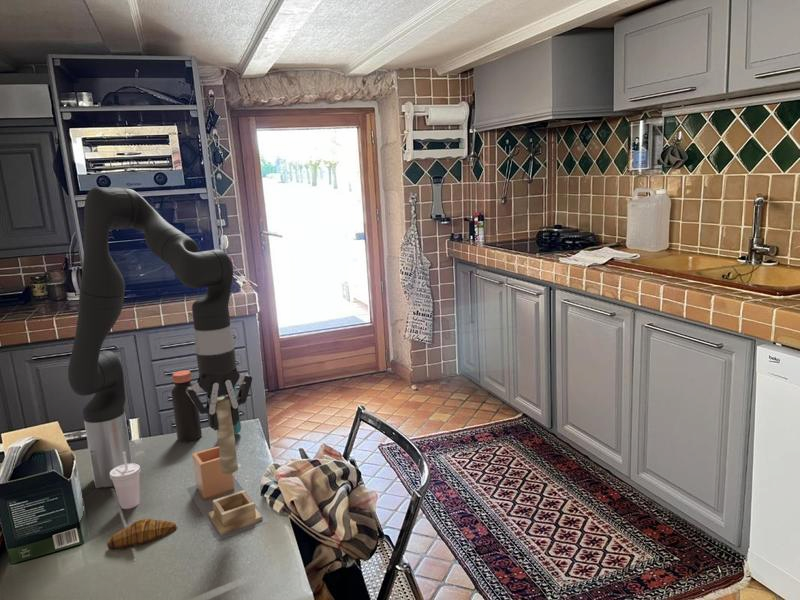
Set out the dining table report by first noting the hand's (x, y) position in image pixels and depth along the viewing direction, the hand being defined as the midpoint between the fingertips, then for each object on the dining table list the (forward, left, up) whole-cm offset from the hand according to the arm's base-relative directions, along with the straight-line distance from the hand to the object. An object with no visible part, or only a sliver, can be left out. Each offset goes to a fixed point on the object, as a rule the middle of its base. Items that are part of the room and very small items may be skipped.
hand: (224, 426), depth 122 cm
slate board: (0, +7, -22) cm, 23 cm away
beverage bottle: (+13, +45, -23) cm, 52 cm away
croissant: (-18, +5, -23) cm, 29 cm away
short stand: (0, 0, -21) cm, 21 cm away
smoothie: (-18, +21, -23) cm, 36 cm away
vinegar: (+3, +52, -23) cm, 57 cm away
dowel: (0, 0, -10) cm, 10 cm away
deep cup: (0, +15, -21) cm, 26 cm away
